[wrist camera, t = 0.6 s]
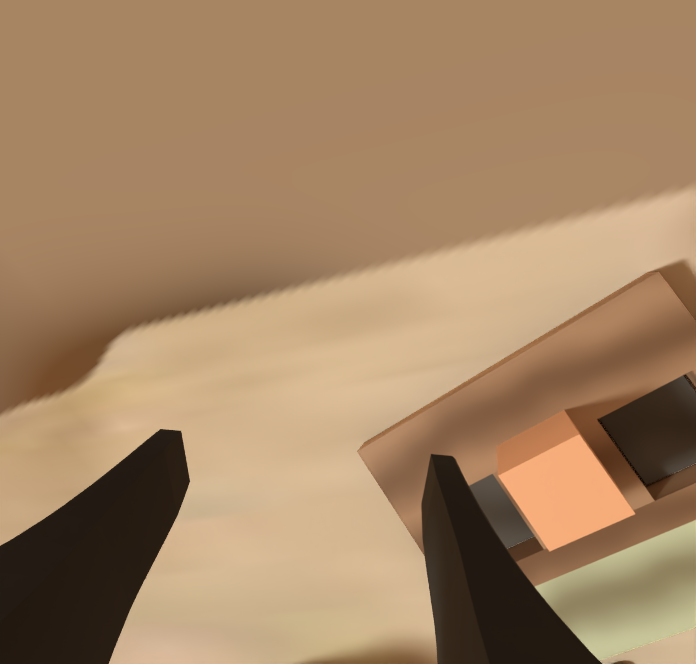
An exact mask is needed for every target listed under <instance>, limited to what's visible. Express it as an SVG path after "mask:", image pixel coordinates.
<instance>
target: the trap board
mask: <svg viewBox="0 0 696 664" xmlns="http://www.w3.org/2000/svg"><path fill="white" fill-rule="evenodd" d="M684 374H686V376H687V377H688V378H689V380H690V381H691V382H692V384H693V385H694V386H695V388H696V320H695V319H694V318H693V316H692V315H691V314H690V312H689V311H688V310H687V308H686V307H685V306H684V304H683V303H682V302H681V300H680V299H679V298H678V296H677V295H676V294H675V293H674V291H673V290H672V289H671V287H670V286H669V285H668V283H667V282H666V281H665V279H664V278H663V277H662V275H661V274H660V273H659V272H649V273H646V274H644V275H642V276H641V277H639V278H637V279H636V280H634V281H632V282H631V283H629V284H627V285H626V286H624V287H622V288H621V289H619V290H617V291H616V292H614V293H612V294H611V295H609V296H607V297H606V298H604V299H603V300H601V301H599V302H598V303H596V304H594V305H593V306H591V307H589V308H588V309H586V310H584V311H583V312H581V313H579V314H578V315H576V316H574V317H573V318H571V319H569V320H568V321H566V322H564V323H563V324H561V325H559V326H558V327H556V328H554V329H553V330H551V331H549V332H548V333H546V334H544V335H543V336H541V337H539V338H538V339H536V340H534V341H533V342H531V343H529V344H528V345H526V346H524V347H523V348H521V349H519V350H518V351H516V352H514V353H513V354H511V355H509V356H508V357H506V358H504V359H503V360H501V361H499V362H498V363H496V364H494V365H493V366H491V367H489V368H488V369H486V370H484V371H483V372H481V373H479V374H478V375H476V376H474V377H473V378H471V379H469V380H468V381H466V382H464V383H463V384H461V385H459V386H458V387H456V388H454V389H453V390H451V391H449V392H448V393H446V394H445V395H443V396H441V397H440V398H438V399H436V400H435V401H433V402H431V403H430V404H428V405H426V406H425V407H423V408H421V409H420V410H418V411H416V412H415V413H413V414H411V415H410V416H408V417H406V418H405V419H403V420H401V421H400V422H398V423H396V424H395V425H393V426H391V427H390V428H388V429H386V430H385V431H383V432H381V433H380V434H378V435H376V436H375V437H373V438H371V439H370V440H368V441H366V442H365V443H364V444H363V445H362V446H361V447H360V449H359V450H358V451H357V452H358V454H359V455H360V457H361V458H362V460H363V461H364V463H365V465H366V466H367V468H368V469H369V471H370V472H371V474H372V475H373V477H374V478H375V480H376V481H377V483H378V485H379V486H380V488H381V489H382V491H383V492H384V494H385V495H386V497H387V498H388V500H389V502H390V503H391V505H392V506H393V508H394V509H395V511H396V512H397V514H398V515H399V517H400V519H401V520H402V522H403V523H404V525H405V526H406V528H407V529H408V531H409V532H410V534H411V536H412V537H413V539H414V540H415V542H416V543H417V545H418V546H419V548H420V549H421V551H422V553H423V554H424V547H423V539H422V510H421V503H422V497H423V492H424V487H425V482H426V477H427V472H428V466H429V461H430V456H431V454H437V455H448V456H453V457H454V458H455V459H456V461H457V463H458V465H459V467H460V470H461V472H462V474H463V476H464V478H465V480H466V482H467V483H468V485H469V487H470V489H471V491H472V493H473V495H474V496H475V498H476V500H477V502H478V504H479V505H480V507H481V509H482V510H483V512H484V514H485V515H486V517H487V519H488V520H489V522H490V524H491V525H492V527H493V529H494V530H495V532H496V533H497V535H498V536H499V538H500V539H501V541H502V542H503V544H504V545H505V547H506V548H508V549H507V550H508V551H509V553H510V554H511V556H512V557H513V559H514V560H515V561H516V563H517V564H518V566H519V567H520V568H521V570H522V571H523V572H524V574H525V575H526V576H527V578H528V579H529V580H530V582H531V583H532V584H533V585H534V587H535V588H536V589H537V591H538V592H539V593H540V594H541V596H542V597H543V598H544V599H545V600H546V602H547V603H548V604H549V605H550V607H551V608H552V609H553V610H554V611H555V613H556V614H557V615H558V616H559V617H560V618H561V619H562V621H563V622H564V623H565V624H566V625H567V626H568V627H569V628H570V629H571V631H572V632H573V633H574V634H575V635H576V636H577V637H578V638H579V639H580V641H581V642H582V643H583V644H584V645H585V646H586V647H587V648H588V649H589V651H590V652H591V653H592V654H593V655H594V656H595V657H596V658H597V659H598V660H599V661H601V660H603V659H606V658H609V657H612V656H615V655H618V654H621V653H624V652H627V651H630V650H633V649H636V648H639V647H642V646H645V645H647V644H650V643H653V642H656V641H659V640H662V639H665V638H668V637H671V636H674V635H677V634H680V633H683V632H686V631H688V630H691V629H694V628H696V464H695V463H696V392H695V390H694V389H693V388H692V386H691V385H690V384H689V382H688V381H687V380H686V378H685V377H684V376H683V375H684ZM563 410H565V412H566V413H567V415H568V416H569V418H570V419H571V420H572V422H573V423H574V425H575V426H576V427H577V429H578V430H579V432H580V433H581V435H582V436H583V437H584V439H585V440H586V442H587V443H588V444H589V446H590V447H591V449H592V450H593V452H594V453H595V454H596V456H597V457H598V459H599V460H600V461H601V463H602V464H603V466H604V467H605V469H606V470H607V471H608V473H609V474H610V476H611V477H612V479H613V480H614V482H615V483H616V485H617V486H618V488H619V489H620V491H621V492H622V494H623V496H624V497H625V499H626V500H627V502H628V503H629V505H630V506H631V508H632V509H633V511H634V512H635V515H632V516H630V517H628V518H625V519H623V520H621V521H619V522H616V523H614V524H612V525H609V526H607V527H605V528H603V529H600V530H598V531H596V532H593V533H591V534H589V535H586V536H584V537H582V538H580V539H577V540H575V541H573V542H570V543H568V544H566V545H564V546H561V547H559V548H557V549H554V550H552V551H550V552H549V550H548V549H547V547H546V546H545V544H544V543H543V541H542V540H541V538H540V537H539V535H538V534H537V532H536V531H535V529H534V528H533V526H532V525H531V524H530V522H529V521H528V519H527V518H526V516H525V515H524V513H523V512H522V510H521V509H520V507H519V506H518V504H517V503H516V501H515V500H514V498H513V497H512V496H511V494H510V493H509V491H508V490H507V488H506V487H505V485H504V484H503V482H502V481H501V479H500V478H499V476H498V464H497V446H498V445H500V444H502V443H503V442H505V441H507V440H509V439H511V438H513V437H515V436H516V435H518V434H520V433H522V432H524V431H526V430H528V429H530V428H531V427H533V426H535V425H537V424H539V423H541V422H543V421H544V420H546V419H548V418H550V417H552V416H554V415H556V414H557V413H559V412H561V411H563ZM597 419H600V421H601V422H602V423H603V425H604V426H605V428H606V429H607V430H608V432H609V433H610V435H611V436H612V437H613V439H614V440H615V442H616V443H617V444H618V446H619V447H620V449H621V450H622V451H623V453H624V454H625V456H626V457H627V458H628V460H629V461H630V463H631V464H632V466H633V467H634V468H635V470H636V471H637V473H638V474H639V475H640V477H641V478H642V480H643V481H644V482H645V484H646V485H648V484H650V483H652V484H650V485H648V486H646V487H645V486H644V485H643V484H642V482H641V481H640V479H639V478H638V477H637V475H636V474H635V472H634V471H633V470H632V468H631V467H630V465H629V464H628V463H627V461H626V460H625V458H624V457H623V455H622V454H621V453H620V451H619V450H618V448H617V447H616V446H615V444H614V443H613V441H612V440H611V439H610V437H609V436H608V434H607V433H606V432H605V430H604V429H603V427H602V426H601V425H600V423H599V422H598V420H597ZM692 464H694V465H692ZM690 465H692V466H690ZM688 466H690V467H688ZM686 467H688V468H686ZM684 468H685V469H684ZM681 469H683V470H681ZM679 470H681V471H679ZM677 471H679V472H677ZM675 472H676V473H675ZM672 473H674V474H672ZM670 474H672V475H670ZM668 475H670V476H668ZM666 476H668V477H666ZM664 477H665V478H664ZM661 478H663V479H661ZM659 479H661V480H659ZM657 480H659V481H657ZM655 481H657V482H655ZM653 482H654V483H653ZM533 536H535V537H533ZM531 537H533V538H531ZM529 538H531V539H529ZM527 539H528V540H527ZM524 540H526V541H524ZM522 541H524V542H522ZM520 542H522V543H520ZM518 543H519V544H518ZM516 544H517V545H516ZM513 545H515V546H513ZM511 546H513V547H511ZM509 547H511V548H509ZM424 556H425V554H424Z"/></svg>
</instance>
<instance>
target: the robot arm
mask: <svg viewBox="0 0 696 664" xmlns="http://www.w3.org/2000/svg"><path fill="white" fill-rule="evenodd" d="M189 482H190V479H189V473H188V468H187V462H186V456H185V450H184V445H183V439H182V433H181V431H175V430H165V429H160V430H159V431H158V432H156V433H155V434H154V435H153V436H151V437H150V438H149V439H148V440H146V441H145V442H144V443H143V444H142V445H140V446H139V447H138V448H137V449H136V450H134V451H133V452H132V453H131V454H129V455H128V456H127V457H126V458H125V459H123V460H122V461H121V462H120V463H119V464H117V465H116V466H115V467H113V468H112V469H111V470H110V471H108V472H107V473H106V474H105V475H103V476H102V477H101V478H100V479H98V480H97V481H96V482H95V483H93V484H92V485H91V486H89V487H88V488H87V489H85V490H84V491H83V492H81V493H80V494H78V495H77V496H76V497H74V498H73V499H72V500H70V501H69V502H68V503H66V504H65V505H64V506H62V507H61V508H59V509H58V510H56V511H55V512H54V513H52V514H51V515H49V516H48V517H46V518H45V519H43V520H42V521H40V522H39V523H37V524H35V525H34V526H32V527H31V528H29V529H28V530H26V531H24V532H23V533H21V534H20V535H18V536H16V537H15V538H13V539H12V540H10V541H8V542H6V543H5V544H3V545H1V546H0V664H109V661H110V659H111V656H112V653H113V651H114V648H115V646H116V643H117V641H118V638H119V636H120V633H121V631H122V628H123V626H124V623H125V621H126V618H127V616H128V613H129V611H130V609H131V607H132V604H133V602H134V600H135V598H136V596H137V594H138V592H139V590H140V588H141V586H142V584H143V582H144V580H145V578H146V576H147V574H148V572H149V570H150V568H151V566H152V564H153V562H154V561H155V559H156V557H157V555H158V553H159V551H160V549H161V547H162V545H163V543H164V541H165V539H166V537H167V535H168V533H169V531H170V529H171V527H172V525H173V523H174V521H175V519H176V517H177V515H178V513H179V510H180V507H181V505H182V502H183V499H184V497H185V494H186V491H187V488H188V485H189ZM421 510H422V539H423V547H424V554H425V561H426V568H427V575H428V582H429V589H430V596H431V603H432V610H433V617H434V625H435V634H436V644H437V662H438V664H602V663H601V662H600V661H599V660H598V659H597V658H596V657H595V656H594V655H593V654H592V653H591V652H590V651H589V649H588V648H587V647H586V646H585V645H584V644H583V643H582V642H581V641H580V639H579V638H578V637H577V636H576V635H575V634H574V633H573V632H572V631H571V629H570V628H569V627H568V626H567V625H566V624H565V623H564V622H563V621H562V619H561V618H560V617H559V616H558V615H557V614H556V613H555V611H554V610H553V609H552V608H551V607H550V605H549V604H548V603H547V602H546V600H545V599H544V598H543V597H542V596H541V594H540V593H539V592H538V591H537V589H536V588H535V587H534V585H533V584H532V583H531V582H530V580H529V579H528V578H527V576H526V575H525V574H524V572H523V571H522V570H521V568H520V567H519V566H518V564H517V563H516V561H515V560H514V559H513V557H512V556H511V554H510V553H509V551H508V550H507V548H506V547H505V545H504V544H503V542H502V541H501V539H500V538H499V536H498V535H497V533H496V532H495V530H494V529H493V527H492V525H491V524H490V522H489V520H488V519H487V517H486V515H485V514H484V512H483V510H482V509H481V507H480V505H479V504H478V502H477V500H476V498H475V496H474V495H473V493H472V491H471V489H470V487H469V485H468V483H467V482H466V480H465V478H464V476H463V474H462V472H461V470H460V467H459V465H458V463H457V461H456V459H455V458H454V457H453V456H448V455H437V454H431V456H430V461H429V466H428V472H427V477H426V482H425V487H424V492H423V497H422V503H421Z"/></svg>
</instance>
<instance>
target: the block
mask: <svg viewBox="0 0 696 664" xmlns="http://www.w3.org/2000/svg"><path fill="white" fill-rule="evenodd" d="M497 464H498V476H499V478H500V479H501V481H502V482H503V484H504V485H505V487H506V488H507V490H508V491H509V493H510V494H511V496H512V497H513V498H514V500H515V501H516V503H517V504H518V506H519V507H520V509H521V510H522V512H523V513H524V515H525V516H526V518H527V519H528V521H529V522H530V524H531V525H532V526H533V528H534V529H535V531H536V532H537V534H538V535H539V537H540V538H541V540H542V541H543V543H544V544H545V546H546V547H547V549H548V550H549V552H550V551H552V550H554V549H557V548H559V547H561V546H564V545H566V544H568V543H570V542H573V541H575V540H577V539H580V538H582V537H584V536H586V535H589V534H591V533H593V532H596V531H598V530H600V529H603V528H605V527H607V526H609V525H612V524H614V523H616V522H619V521H621V520H623V519H625V518H628V517H630V516H632V515H635V512H634V511H633V509H632V508H631V506H630V505H629V503H628V502H627V500H626V499H625V497H624V496H623V494H622V492H621V491H620V489H619V488H618V486H617V485H616V483H615V482H614V480H613V479H612V477H611V476H610V474H609V473H608V471H607V470H606V469H605V467H604V466H603V464H602V463H601V461H600V460H599V459H598V457H597V456H596V454H595V453H594V452H593V450H592V449H591V447H590V446H589V444H588V443H587V442H586V440H585V439H584V437H583V436H582V435H581V433H580V432H579V430H578V429H577V427H576V426H575V425H574V423H573V422H572V420H571V419H570V418H569V416H568V415H567V413H566V412H565V410H563V411H561V412H559V413H557V414H556V415H554V416H552V417H550V418H548V419H546V420H544V421H543V422H541V423H539V424H537V425H535V426H533V427H531V428H530V429H528V430H526V431H524V432H522V433H520V434H518V435H516V436H515V437H513V438H511V439H509V440H507V441H505V442H503V443H502V444H500V445H498V446H497Z"/></svg>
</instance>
